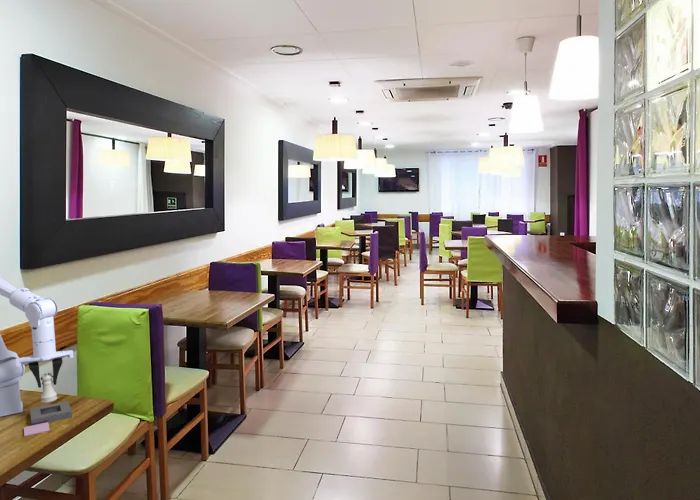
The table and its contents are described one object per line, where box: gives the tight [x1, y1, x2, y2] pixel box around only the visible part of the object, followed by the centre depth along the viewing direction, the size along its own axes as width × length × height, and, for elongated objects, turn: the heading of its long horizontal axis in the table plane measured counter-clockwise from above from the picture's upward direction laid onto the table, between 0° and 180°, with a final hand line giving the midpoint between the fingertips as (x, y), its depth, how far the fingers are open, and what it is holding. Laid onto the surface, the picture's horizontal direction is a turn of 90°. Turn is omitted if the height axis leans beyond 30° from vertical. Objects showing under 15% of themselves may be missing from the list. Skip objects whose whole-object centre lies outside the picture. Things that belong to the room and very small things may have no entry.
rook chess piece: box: [40, 372, 58, 404], centre depth 151 cm, size 4×4×8 cm
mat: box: [23, 422, 50, 437], centre depth 144 cm, size 6×6×1 cm
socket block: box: [29, 400, 73, 426], centre depth 153 cm, size 10×10×2 cm
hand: (47, 385), depth 151 cm, fingers closed on rook chess piece, 3 cm apart
